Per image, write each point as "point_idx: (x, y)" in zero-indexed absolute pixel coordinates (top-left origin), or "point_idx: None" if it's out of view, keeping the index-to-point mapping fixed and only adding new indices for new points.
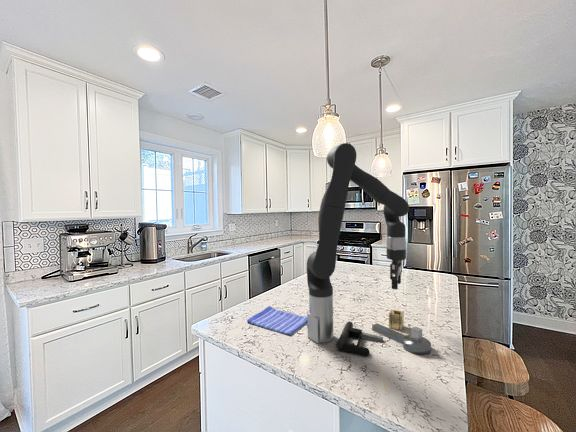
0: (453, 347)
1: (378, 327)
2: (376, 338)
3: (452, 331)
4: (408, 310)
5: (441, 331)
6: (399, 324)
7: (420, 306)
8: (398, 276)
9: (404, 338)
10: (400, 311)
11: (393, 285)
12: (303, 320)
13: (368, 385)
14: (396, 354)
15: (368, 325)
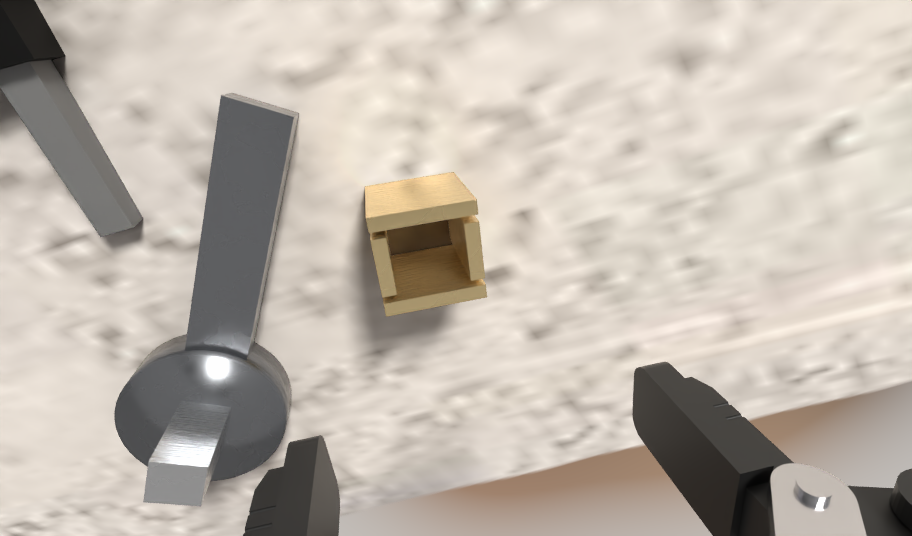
0: (359, 496)
1: (222, 157)
2: (75, 194)
3: (536, 454)
4: (736, 200)
5: (506, 422)
6: (450, 233)
7: (832, 244)
8: (709, 501)
9: (176, 365)
10: (475, 277)
11: (257, 527)
12: None
13: None
14: (40, 343)
15: (294, 29)
